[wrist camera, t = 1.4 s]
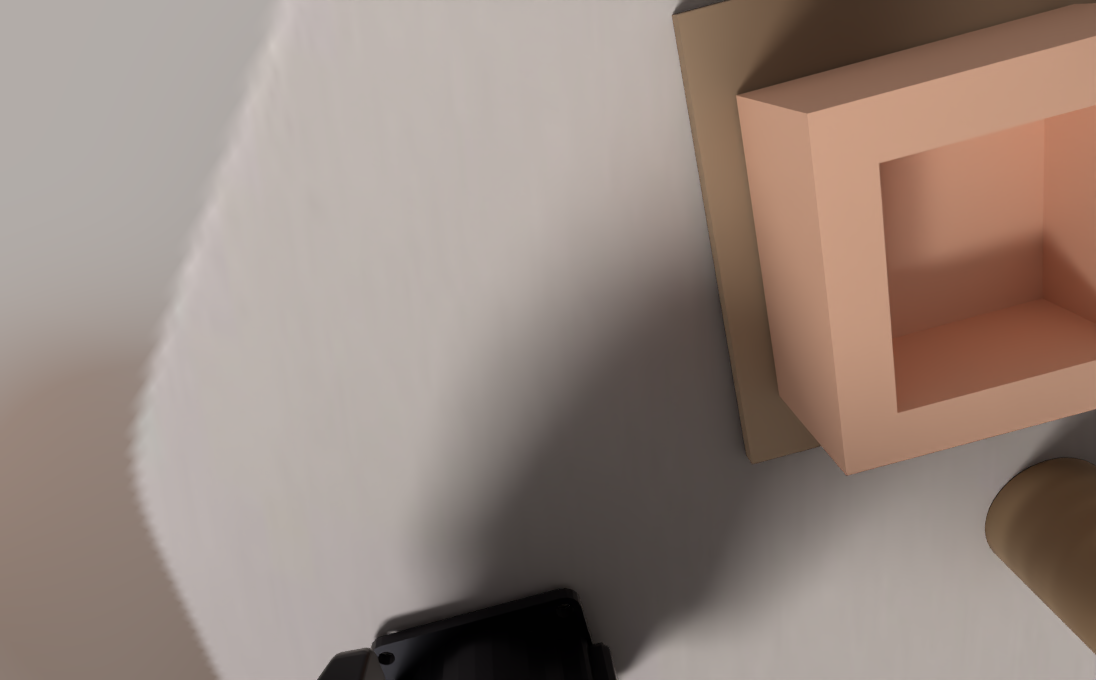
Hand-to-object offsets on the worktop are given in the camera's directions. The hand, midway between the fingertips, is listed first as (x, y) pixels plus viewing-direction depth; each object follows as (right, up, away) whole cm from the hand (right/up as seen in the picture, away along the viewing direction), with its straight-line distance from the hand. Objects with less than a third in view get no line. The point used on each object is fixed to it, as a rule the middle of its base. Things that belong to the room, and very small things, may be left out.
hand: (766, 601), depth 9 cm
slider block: (+7, +6, +10) cm, 14 cm away
